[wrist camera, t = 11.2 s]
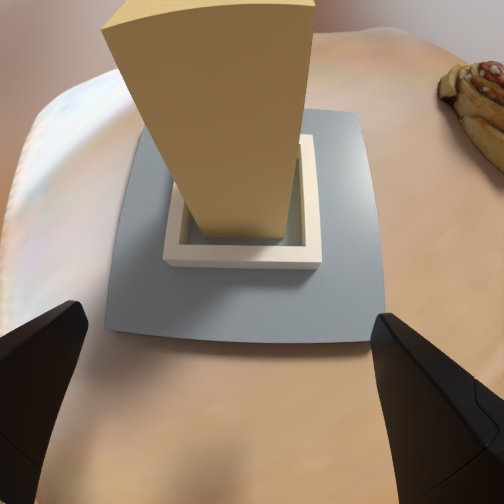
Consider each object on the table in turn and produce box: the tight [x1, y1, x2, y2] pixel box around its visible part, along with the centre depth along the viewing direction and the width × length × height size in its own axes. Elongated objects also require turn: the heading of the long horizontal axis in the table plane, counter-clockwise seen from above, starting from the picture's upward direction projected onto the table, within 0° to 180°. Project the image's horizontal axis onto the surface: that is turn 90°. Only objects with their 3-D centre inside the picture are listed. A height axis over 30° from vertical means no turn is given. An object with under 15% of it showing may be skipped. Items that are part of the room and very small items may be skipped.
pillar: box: [101, 0, 316, 238], centre depth 11 cm, size 4×4×13 cm
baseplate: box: [105, 109, 386, 343], centre depth 17 cm, size 16×16×3 cm
